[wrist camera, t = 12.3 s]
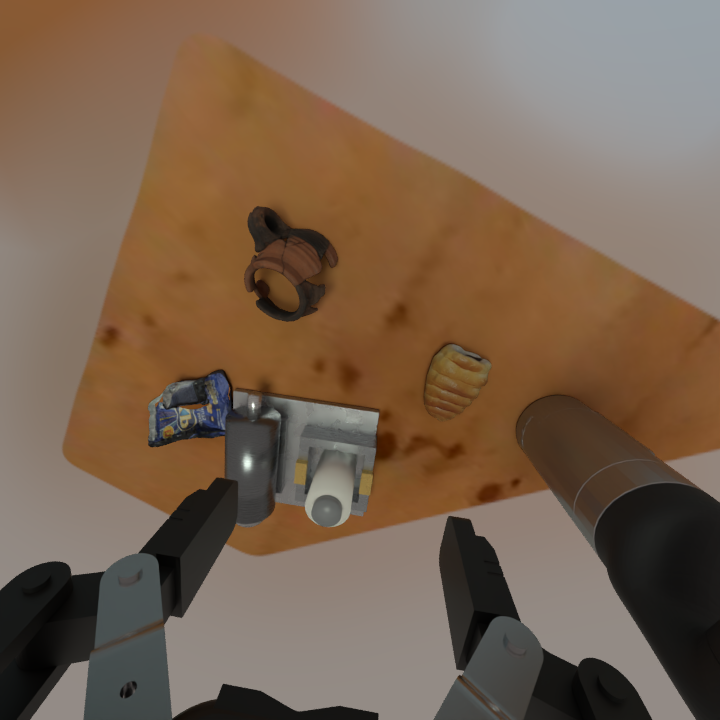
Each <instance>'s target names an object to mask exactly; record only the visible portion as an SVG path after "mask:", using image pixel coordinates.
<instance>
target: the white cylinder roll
mask: <svg viewBox="0 0 720 720" xmlns="http://www.w3.org/2000/svg"><path fill="white" fill-rule="evenodd" d="M356 465H357V460H356V457H355V455H354V454H353V453H346V452H340V451H334V450H327V449H325V450H324V451H323V452H322V454H321V456H320V459H319V462H318V465H317V468H316V471H315V474H314V477H313V480H312V483H311V486H310V489H309V492H308V495H307V499H306V502H305V510H306V513H307V515H308V517H309V518H310V519H311V520H312V521H313V522H315V523H316V524H318V525H321V526H324V527H334V526H338V525H340V524H342V523H344V522H345V521H346V520H347V519H348V517H349V515H350V511H351V504H352V496H353V488H354V481H355V473H356Z"/></svg>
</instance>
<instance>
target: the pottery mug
mask: <svg viewBox="0 0 720 720" xmlns="http://www.w3.org/2000/svg"><path fill="white" fill-rule="evenodd" d="M248 228H249V231H250V233H251V235H252V237H253V239H254V241H255V251H256V252H258V253H259V252H260V253H259V254H258V257H257V256H256V255H254V256H253V258H252V260H251V264H250V265H249V266H248V268H247V270H246V272H245V278H244V282H245V286H246V289H247V291H248V292H252V291H253V290H254V291H255V293H256V295H257V296H258V297H259V298H260V299H259V300H257V301H256V305H257V307H258V308H259V309H260V310H262V311H263V312H264V313H266V314H267V315H268V316H270V317H272V318H274V319H278V320H282V321H286V322H287V321H295V320H298V319H299V318H300V317H303V316H306V315H309V314H312V313H314V312H316V311H317V310H318V309H317V308H313V307H311V305H314V304H315V303H317V302H318V301H319V299H320V298H321V297H322V296H323V295H324V294H325V285H324V284H322V285H319V286H317V285H315V284H312V283H310V282H308V281H306V279H308V278H310V277H312V276H314V275H316V274H318V273H320V272H321V269H322V264H321V261H320V259H322V257H323V254H325V256H326V257H327V259H328V262H329V264H330V267H335V265H336V263H337V261H338V257H337V254H336V252H335V250H334V248H333V246H332V245H331V244H330V242H329V241H328V240H327V239H326V238H325V237H324V236H323V235H321V234H319V233H318V232H316V231H313V230H310V229H291V228H290V227H289V226H287V225H286V224H285V223H284V222H283V221H282V220H281V219H280V217H279V216H278V215H277V214H276V213H275V212H274V211H273V210H272V209H270V208H267V207H259V206H257V207H256V208H254V210H253V212H251V213H250V214H249V217H248ZM285 238H288V239H287V241H286V242H285V241H284V240H282V239H285ZM259 268H269V269H273V270H275V271H277V272H279V273H281V274H283V275H284V276H285V277H286V278H287V279H288V280H289V281H290V282H291V283H292V284H293V285H294V286H295V288H296V290H297V292H298V295H299V300H300V305H299V308H298V310H297V311H295V312H288V311H285V310H283V309H280V308H279V307H277V306H276V305H275V304H274V303H273V302H272V301H271V300H270V299H269V298H268V293H269V287H268V286H267V285H266V284H265V283H264V282H263V281H262V280H258V281H257V282H256V283H255V278H254V274H255V272H256V271H257V270H258V269H259Z"/></svg>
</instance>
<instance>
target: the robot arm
mask: <svg viewBox="0 0 720 720" xmlns="http://www.w3.org/2000/svg"><path fill="white" fill-rule="evenodd" d="M516 437H517V440H518V443H519V445H520V447H521V448H522V450H523V451H524V453H525V454H526V455H527V457H528V458H529V460H530V461H531V462H532V464H533V465H534V467H535V468H536V470H537V471H538V472H539V474H540V475H541V477H542V478H543V480H544V481H545V482H546V484H547V485H548V487H549V488H550V489H551V491H552V492H553V494H554V495H555V496H556V498H557V499H558V501H559V502H560V503H561V505H562V506H563V508H564V509H565V510H566V512H567V513H568V515H569V516H570V517H571V518H572V520H573V521H574V523H575V524H576V526H577V527H578V529H579V530H580V531H581V533H582V534H583V536H585V538H586V540H587V541H588V542H589V544H590V545H591V547H592V548H593V550H594V551H595V552H596V554H597V555H598V557H599V558H600V559H601V561H602V562H603V564H604V565H605V566H606V568H607V572H608V575H609V578H610V581H611V583H612V585H613V587H614V589H615V591H616V593H617V594H618V596H619V598H620V599H621V601H622V602H623V604H624V605H625V607H626V608H627V610H628V611H629V613H630V615H631V616H632V618H633V619H634V621H635V622H636V624H637V625H638V627H639V629H640V630H641V632H642V634H643V635H644V637H645V638H646V640H647V641H648V643H649V645H650V646H651V648H652V650H653V651H654V653H655V654H656V656H657V658H658V659H659V661H660V663H661V664H662V666H663V667H664V669H665V671H666V672H667V674H668V676H669V677H670V679H671V681H672V682H673V684H674V686H675V687H676V689H677V690H678V692H679V694H680V695H681V697H682V699H683V700H684V701H685V703H686V705H687V706H688V708H689V709H690V711H691V713H692V714H693V715H694V717H695V719H696V720H720V502H718V501H717V500H715V499H714V498H713V497H711V496H710V495H709V494H707V493H706V492H704V491H703V490H701V489H700V488H699V487H697V486H696V485H695V484H693V483H692V482H690V481H689V480H688V479H686V478H685V477H684V476H682V475H681V474H679V473H678V472H677V471H675V470H674V469H672V468H671V467H670V466H668V465H667V464H665V463H664V462H663V461H661V460H660V459H659V458H657V457H656V456H655V455H654V453H653V452H652V451H651V450H650V449H648V448H647V447H645V446H644V445H643V444H641V443H640V442H638V441H637V440H636V439H634V438H633V437H631V436H630V435H629V434H627V433H626V432H625V431H623V430H622V429H620V428H619V427H618V426H616V425H615V424H613V423H612V422H611V421H609V420H608V419H606V418H605V417H604V416H602V415H601V414H599V413H598V412H594V411H593V410H592V409H590V408H589V407H587V406H586V405H585V404H583V403H582V402H580V401H579V400H577V399H575V398H572V397H569V396H563V395H553V396H549V397H544V398H542V399H540V400H537V401H536V402H534V403H533V404H531V405H530V406H529V407H528V408H527V409H526V410H524V412H523V413H522V415H521V416H520V418H519V421H518V423H517V428H516ZM237 515H238V481H237V480H230V479H224V478H216V479H215V480H214V481H213V483H212V484H211V485H210V486H209V488H208V489H207V490H202V489H199V490H197V491H196V492H194V493H193V494H191V495H189V496H188V497H186V498H185V499H184V501H183V502H182V503H181V504H180V505H179V506H178V508H177V510H175V511H174V512H173V513H172V515H171V516H170V517H169V519H167V520H166V522H165V523H164V524H163V525H162V526H161V527H160V528H159V530H158V531H157V532H156V533H155V534H154V536H153V537H152V538H151V539H150V540H149V541H148V542H147V544H146V545H145V546H144V547H143V548H142V549H141V551H140V552H139V553H138V554H133V555H129V556H126V557H124V558H122V559H120V560H118V561H117V562H115V563H114V564H113V565H111V566H110V567H109V568H108V569H107V570H106V571H104V572H98V573H89V574H81V575H73V576H71V569H70V567H69V566H68V565H67V564H66V563H63V562H56V561H55V562H47V563H43V564H39V565H37V566H34V567H32V568H30V569H27V570H26V571H24V572H22V573H21V574H19V575H18V576H16V577H15V578H14V579H13V580H11V581H10V582H9V583H8V584H7V585H6V586H5V587H3V588H2V589H1V590H0V720H30V719H31V718H32V716H33V715H34V714H35V712H36V711H37V710H38V708H39V707H40V705H41V704H42V703H43V701H44V700H45V699H46V697H47V696H48V694H49V693H50V691H51V690H52V689H53V688H54V686H55V685H56V683H57V682H58V681H59V680H60V678H61V677H62V675H63V674H64V673H65V671H66V670H67V668H68V667H69V666H70V665H71V663H76V662H81V661H87V660H89V668H88V678H87V689H86V700H85V710H84V720H378V713H374V712H369V711H363V710H358V709H353V708H347V707H342V706H336V707H329V708H322V709H315V710H308V711H302V712H301V711H300V712H298V711H295V710H293V709H291V708H289V707H287V706H286V705H284V704H282V703H280V702H279V701H277V700H275V699H274V698H272V697H270V696H268V695H267V694H265V693H263V692H261V691H258V690H253V689H248V688H242V687H237V686H232V685H227V684H223V685H222V688H221V690H220V693H219V695H218V698H217V699H215V700H210V701H207V702H203V703H200V704H198V705H195V706H193V707H191V708H189V709H187V710H185V711H183V712H182V713H180V714H178V715H177V716H175V717H174V718H173V719H172V712H171V700H170V689H169V677H168V665H167V653H166V641H165V630H164V624H165V623H166V621H167V620H168V618H169V616H175V617H180V618H182V617H183V615H184V613H185V612H186V610H187V609H188V607H189V605H190V604H191V602H192V600H193V598H194V597H195V595H196V593H197V591H198V590H199V588H200V586H201V585H202V583H203V581H204V579H205V578H206V576H207V574H208V573H209V571H210V569H211V567H212V566H213V564H214V562H215V560H216V559H217V557H218V555H219V554H220V552H221V550H222V548H223V547H224V545H225V543H226V542H227V540H228V538H229V536H230V535H231V533H232V531H233V529H234V527H235V524H236V520H237ZM439 566H440V573H441V578H442V585H443V591H444V597H445V602H446V608H447V615H448V621H449V627H450V633H451V639H452V645H453V651H454V657H455V663H456V669H457V670H463V671H464V673H463V674H462V676H460V675H459V676H458V677H457V679H456V680H455V682H454V684H453V685H452V687H451V689H450V691H449V693H448V694H447V696H446V698H445V700H444V702H443V703H442V706H441V707H440V709H439V711H438V712H437V714H436V716H435V718H434V720H652V719H651V716H650V715H649V713H648V711H647V709H646V707H645V705H644V704H643V701H642V700H641V698H640V696H639V694H638V692H637V691H636V689H635V688H634V687H633V685H632V684H631V683H630V682H629V681H628V679H627V678H626V677H624V675H623V674H621V673H620V672H619V671H618V670H617V669H615V668H614V667H613V666H611V665H609V664H608V663H606V662H604V661H602V660H599V659H596V658H586V659H583V660H582V661H581V662H580V664H579V666H578V667H577V666H575V665H573V664H571V663H569V662H567V661H565V660H563V659H561V658H559V657H557V656H555V655H553V654H551V653H549V652H547V651H546V650H545V649H543V648H542V647H541V645H540V643H539V641H538V639H537V638H536V636H535V635H534V634H533V633H532V632H531V631H530V629H529V628H528V627H526V626H525V625H524V624H523V623H521V621H520V618H519V616H518V613H517V610H516V607H515V605H514V602H513V599H512V596H511V594H510V591H509V588H508V585H507V583H506V580H505V577H503V572H502V569H501V566H499V561H498V558H497V555H496V553H495V550H494V548H493V547H492V546H491V545H490V544H489V542H488V541H487V540H486V538H485V537H481V536H476V535H475V532H474V529H473V526H472V523H471V520H469V519H465V518H459V517H453V516H449V517H448V519H447V523H446V527H445V531H444V535H443V540H442V543H441V547H440V555H439Z"/></svg>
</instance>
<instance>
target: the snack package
mask: <svg viewBox="0 0 720 720" xmlns="http://www.w3.org/2000/svg"><path fill="white" fill-rule="evenodd" d="M228 384H229V383H228V380H227V378H226V376H225V373H224V371H223V370H218V371H215V372H212V373H211V374H209V375H208V376H207V377H205V378H200V379H198V380H188V381H181V382H176V383H172V384H170V385H168V386H167V387H166V389H165V391H164V392H163V393H162V394H161V395H160V396H159V397H157V398H156V399H154V400H153V401H151V403H149V406H148V410H149V411H150V415H151V416H150V418H149V431H150V433H149V434H150V435H149V436H148V438H149V439H148V441H149V443H148V445H149V446H150V447H159V446H163V445H167V444H169V443H172V442H176V441H178V440H182V439H191V438H196V437H198V438H214V437H218V436H225V417H226V415H227V414H228V413H229V412H230V411H231V409H232V408H231V390H230V393H229V396H230V400H229V397H228V396H227V395H228V390H229V387H230V385H228ZM230 389H231V388H230ZM162 396H163V403H162V402H161V403H160V402H159V400H160V398H161V397H162ZM156 402H159V404H158V405H157V407H155V403H156ZM200 403H201V404H202V405H205V404H209V405H208V406H204V407H202V408H200V409H194V410H188V409H184V408H180V407H179V406H185V405H193V404H200Z"/></svg>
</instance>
